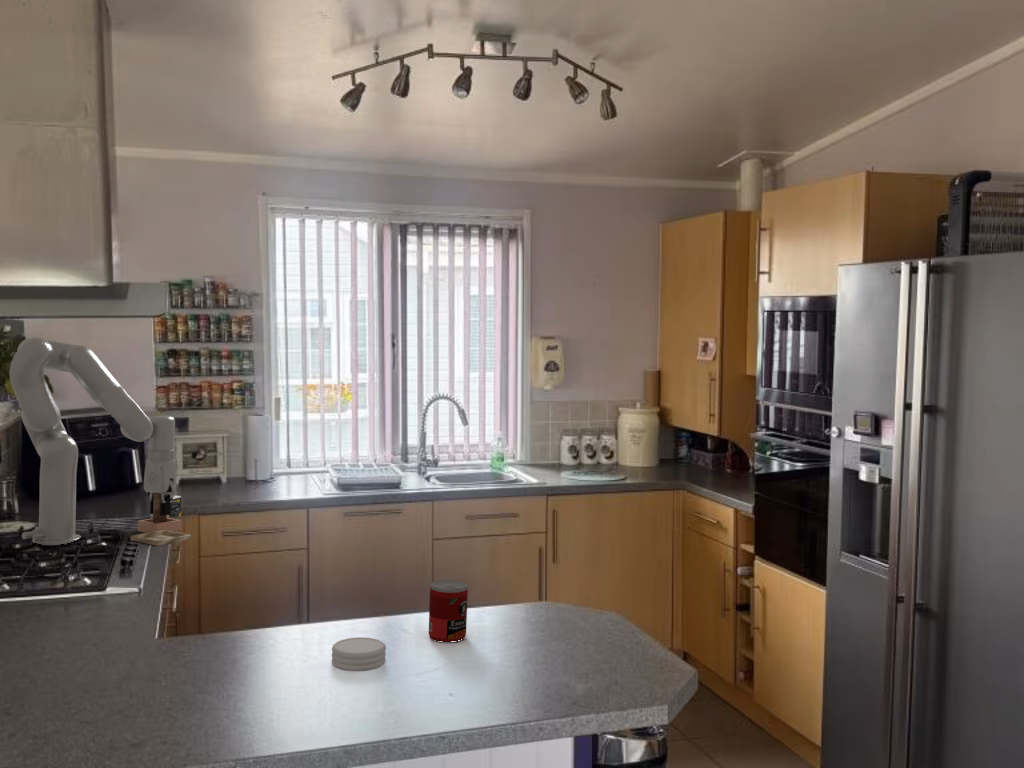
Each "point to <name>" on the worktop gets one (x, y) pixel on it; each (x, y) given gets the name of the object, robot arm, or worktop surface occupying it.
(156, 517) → the dowel
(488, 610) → the worktop surface
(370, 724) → the worktop surface
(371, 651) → the coaster
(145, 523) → the pink square box
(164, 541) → the tray
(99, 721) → the worktop surface
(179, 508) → the medicine bottle
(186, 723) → the worktop surface
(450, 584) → the canned food
